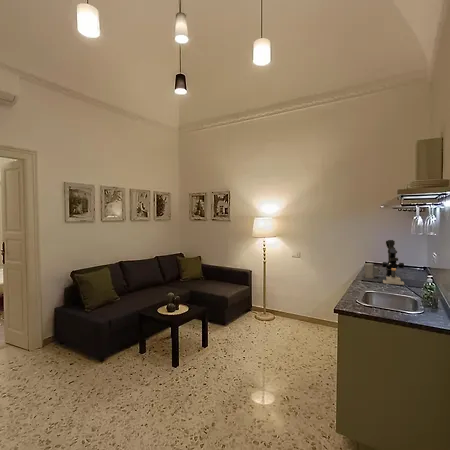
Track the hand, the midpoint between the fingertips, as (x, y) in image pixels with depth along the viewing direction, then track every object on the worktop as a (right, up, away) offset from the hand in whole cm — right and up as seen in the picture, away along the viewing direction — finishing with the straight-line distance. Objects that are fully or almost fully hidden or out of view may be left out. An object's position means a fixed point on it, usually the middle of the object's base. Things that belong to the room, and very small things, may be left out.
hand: (393, 272), depth 287 cm
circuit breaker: (-7, -11, +27) cm, 30 cm away
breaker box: (+1, -11, +3) cm, 12 cm away
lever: (+1, -6, +2) cm, 6 cm away
